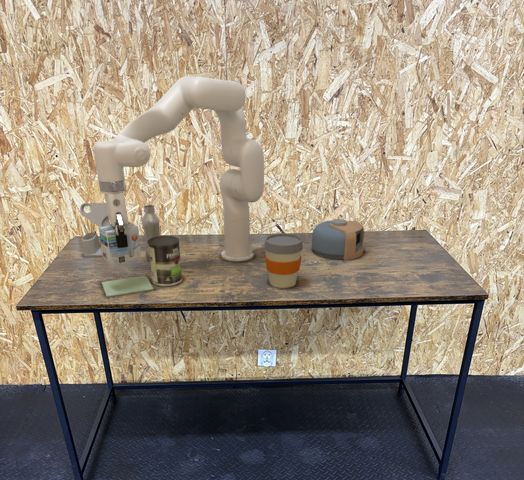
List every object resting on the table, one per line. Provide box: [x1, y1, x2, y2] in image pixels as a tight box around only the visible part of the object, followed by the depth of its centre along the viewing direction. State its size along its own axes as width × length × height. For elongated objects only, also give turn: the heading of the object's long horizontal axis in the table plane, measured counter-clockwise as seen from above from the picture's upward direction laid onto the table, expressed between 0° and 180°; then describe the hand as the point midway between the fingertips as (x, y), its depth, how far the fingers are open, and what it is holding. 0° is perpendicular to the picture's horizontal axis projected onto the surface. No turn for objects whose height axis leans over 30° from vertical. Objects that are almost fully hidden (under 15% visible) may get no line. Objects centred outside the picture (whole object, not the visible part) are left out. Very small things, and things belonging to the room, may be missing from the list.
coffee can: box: [147, 235, 183, 287], centre depth 165 cm, size 10×10×14 cm
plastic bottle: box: [141, 204, 161, 262], centre depth 181 cm, size 6×7×20 cm
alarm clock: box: [311, 218, 365, 261], centre depth 191 cm, size 19×20×12 cm
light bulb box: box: [98, 221, 142, 266], centre depth 157 cm, size 11×7×11 cm, turn 129°
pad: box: [101, 275, 155, 298], centre depth 164 cm, size 15×12×1 cm
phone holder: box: [79, 202, 111, 258], centre depth 189 cm, size 17×10×18 cm, turn 91°
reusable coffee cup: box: [263, 233, 304, 289], centre depth 164 cm, size 13×13×15 cm
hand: (120, 242), depth 157 cm, fingers closed on light bulb box, 8 cm apart
